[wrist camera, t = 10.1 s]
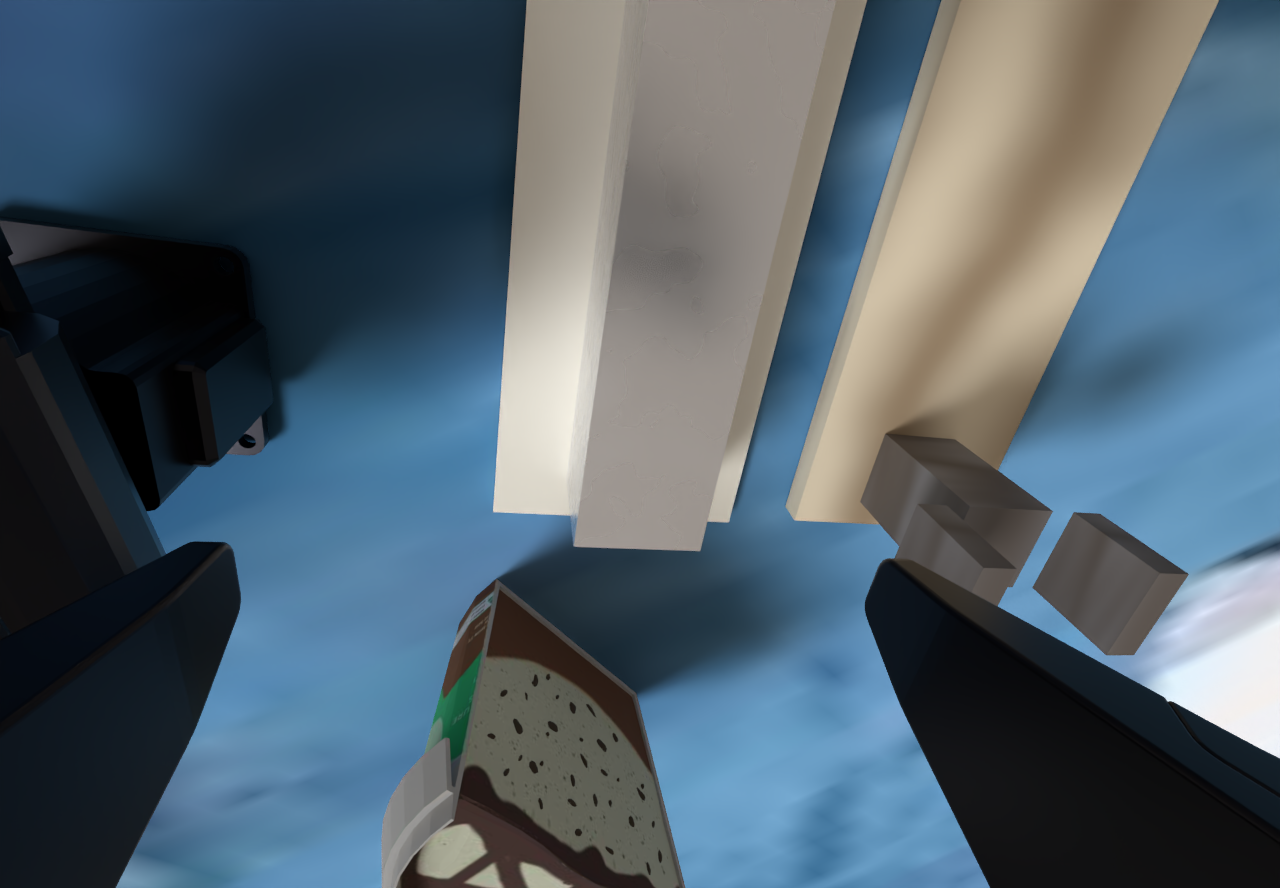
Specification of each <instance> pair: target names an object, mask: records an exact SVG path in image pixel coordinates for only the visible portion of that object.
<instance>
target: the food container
mask: <svg viewBox="0 0 1280 888" xmlns="http://www.w3.org/2000/svg"><path fill="white" fill-rule="evenodd" d="M382 888H685V885H684V881H683V877H682V873H681V869H680V865H679V861H678V857H677V853H676V849H675V845H674V841H673V837H672V833H671V829H670V825H669V821H668V817H667V813H666V809H665V805H664V801H663V797H662V793H661V790H660V786H659V782H658V778H657V774H656V770H655V766H654V762H653V758H652V754H651V750H650V746H649V742H648V738H647V734H646V730H645V726H644V722H643V718H642V714H641V710H640V706H639V702H638V698H637V694H636V693H635V692H634V691H633V690H632V689H630V688H629V687H628V686H627V685H626V684H624V683H623V682H622V681H621V680H619V679H618V678H617V677H616V676H615V675H613V674H612V673H611V672H610V671H608V670H607V669H606V668H605V667H604V666H602V665H601V664H600V663H599V662H598V661H596V660H595V659H594V658H593V657H591V656H590V655H589V654H588V653H587V652H585V651H584V650H583V649H582V648H580V647H579V646H578V645H577V644H576V643H574V642H573V641H572V640H571V639H569V638H568V637H567V636H566V635H565V634H563V633H562V632H561V631H560V630H558V629H557V628H556V627H555V626H554V625H552V624H551V623H550V622H549V621H547V620H546V619H545V618H544V617H543V616H541V615H540V614H539V613H538V612H536V611H535V610H534V609H533V608H532V607H530V606H529V605H528V604H527V603H525V602H524V601H523V600H522V599H521V598H519V597H518V596H517V595H516V594H514V593H513V592H512V591H511V590H510V589H508V588H507V587H506V586H505V585H503V584H502V583H501V582H500V581H499V580H497V579H496V580H495V581H493V582H492V583H491V584H490V585H489V586H488V587H487V588H485V589H484V590H483V591H482V592H481V593H480V594H478V595H477V596H476V598H475V599H474V601H473V603H472V604H471V606H470V607H469V609H468V611H467V612H466V614H465V615H464V617H463V618H462V620H461V622H460V624H459V627H458V631H457V635H456V638H455V642H454V646H453V650H452V653H451V657H450V661H449V664H448V668H447V672H446V675H445V679H444V683H443V687H442V690H441V694H440V698H439V701H438V705H437V709H436V713H435V716H434V720H433V724H432V727H431V731H430V735H429V739H428V742H427V746H426V750H425V753H424V755H423V756H422V757H421V758H420V759H419V760H418V761H417V762H416V764H415V765H414V766H413V767H412V768H411V769H410V770H409V771H408V772H407V774H406V775H405V776H404V777H403V779H402V780H401V782H400V783H399V785H398V787H397V788H396V790H395V792H394V793H393V795H392V797H391V798H390V801H389V804H388V807H387V810H386V813H385V816H384V819H383V829H382Z"/></svg>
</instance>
